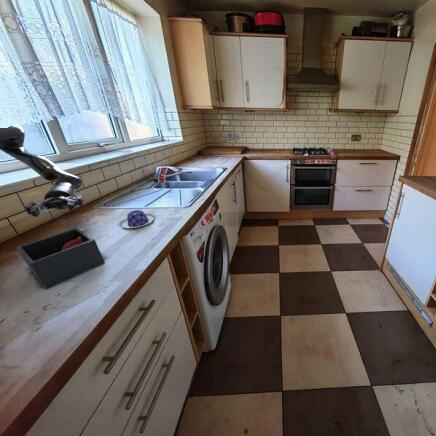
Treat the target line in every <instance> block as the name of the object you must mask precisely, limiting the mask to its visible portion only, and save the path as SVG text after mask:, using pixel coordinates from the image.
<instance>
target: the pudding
mask: <svg viewBox="0 0 436 436" xmlns="http://www.w3.org/2000/svg"><path fill="white" fill-rule="evenodd" d="M126 218H127V219H126V220H125V221H124V222H123V223H122V224H121V226H122V228H124V229H134V228H135V229H136V228H140V227H143V226H147V225H149V224H151V223H152V222H153V221H154V217H153V216H150V215H146V213H145V212H144V211H143V210H141V209H138V210H132V211H130V212H128V213H127V217H126Z"/></svg>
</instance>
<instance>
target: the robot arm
mask: <svg viewBox="0 0 436 436" xmlns="http://www.w3.org/2000/svg"><path fill="white" fill-rule="evenodd" d="M25 136H26V134H25V129H24V128H23V127H22V126H21V125H20V124H18V123H15V124H12V125H11V126H10V127H8V128H0V151H2V152H3V153H5V154H7V155H9V156H10V157H12V158H14V159H15V160H17V161H19V162H20V163H22V164H23V165H26V166H27V167H29V168H30V169H31V170H33V171H34V172H35V173H36V174H38V175H39V176H40V177H41V178H42V179H44V180H45V181H48V182H55V183H53V184H52V185H51V187H50V188H49V190H48V191H47V192H46V194H45V195H44V196H43V197H44V198H43V200H41V201H39V202H38V203H36V202H35V201H30V202H29V203H27V204H26V205H25V207H24V210H25V211H26V213H27V215H31V216H32V217H35V218H36V217H37V218H38V217H39V216H40V215H41V214H42V213H48V212H50V211H52V210H66V209H68V210H69V211H73V210H74V209H76V208H77V206H81V207H82V206H83V205H84V202H85V201H84V198H83V196H82V194H77V191H78V190H79V189H80V188H81V187H82V186H83V181H82V179H81V178H80V177H79V176H76V175H74V174H72V173H70V172H68V171H66V170H63V168H61V167H59V166H58V165H57V164H56V163H54V162H53V161H52V160H51V159H50V158H48V157H45V156H42V155H39V154H34V153H31V152H29V151H28V150H27V149H26V147H24V144H25V138H26V137H25ZM76 194H77V195H76Z"/></svg>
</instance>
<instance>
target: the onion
mask: <svg viewBox="0 0 436 436" xmlns="http://www.w3.org/2000/svg"><path fill="white" fill-rule="evenodd" d="M82 243H84V242H83V240H82V239H81V237H78V238H77V239H76V240H72V241H70V242H68V243H66V244H65V245H64V246H63V248H62V251H63V250H65V249H68V248H71V247H73V246H76V245H79V244H82Z"/></svg>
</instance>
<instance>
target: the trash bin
mask: <svg viewBox="0 0 436 436" xmlns="http://www.w3.org/2000/svg"><path fill="white" fill-rule="evenodd" d="M78 237H81V239H82V240H83V242H84V243H82V244H79V245H76V246H73V247H71V248H68V249H65V250H63V251H62V248H63V246H64V245H65V244H66V243H68V242H70V241H72V240H76V239H77V238H78ZM16 250H17V251H18V252H19V254H20V256H21V258H23V261H24V262H25V264H26V265H27V267H28V268H29V269H30V271H31V272H32V274H33V275H34V276H35V277H36V278H37V279H38V281H39V282H40V284H41V285H43V287H44V288H45V290H47V289H50V288H51V287H54V286H56V285H58V284H61V283H62V282H63V283H64V282H65V281H67V280H69V279H71V278H73V277H76V276H79V275H81V274H82V273H85V272H87V271H89V270H91V269H93V268H96V267H98V266H100V265H103V264H105V263H106V262H105V259H104V257H103V254H102V253H101V251H100V248H99V246H98V243H97V242H96V239H94V238H93V237H91V236H90V235H89V234H87V233H86V232H84V231H82V230H81V229H80V228H78V227H75V228H72V229H68V230H66V231H62V232H60V233H57V234H54V235H53V234H52V235H50V236H48V237H45V238H42V239H38V240H35V241H32V242H29V243H25V244H23V245H20V246H17V247H16Z"/></svg>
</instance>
